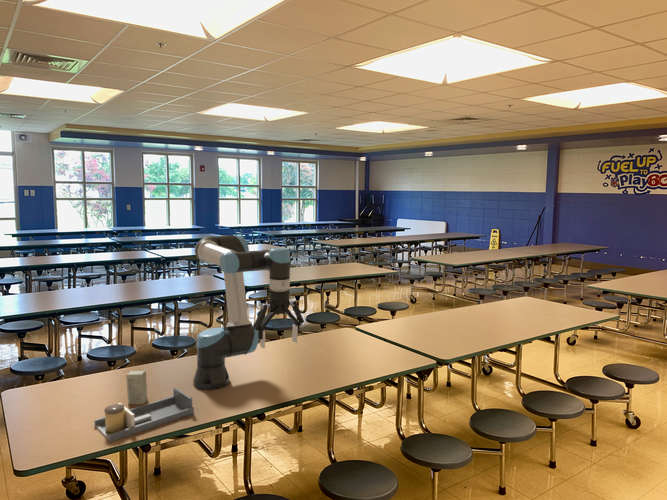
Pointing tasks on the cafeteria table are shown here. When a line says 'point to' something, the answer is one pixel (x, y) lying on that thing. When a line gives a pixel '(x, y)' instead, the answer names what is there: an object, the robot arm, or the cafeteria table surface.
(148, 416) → the pusher
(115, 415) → the jar
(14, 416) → the cafeteria table surface
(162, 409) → the lane
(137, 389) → the skincare box
